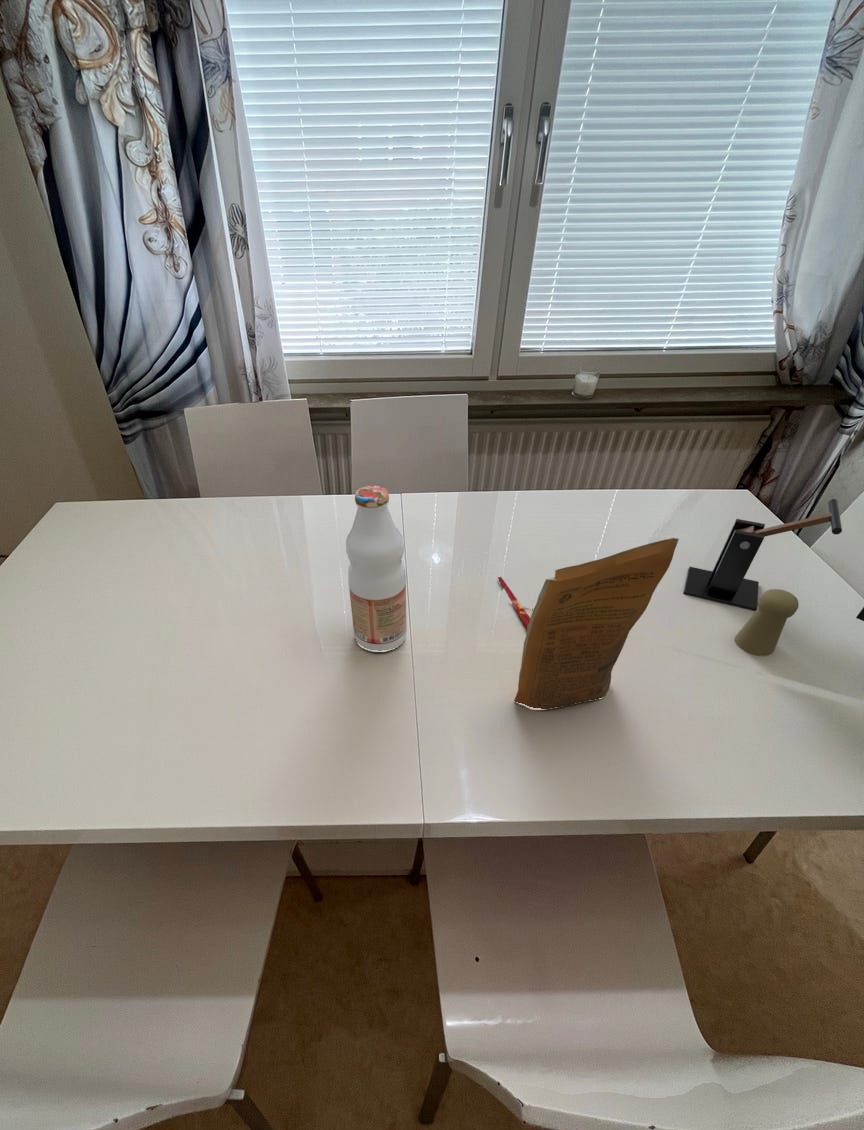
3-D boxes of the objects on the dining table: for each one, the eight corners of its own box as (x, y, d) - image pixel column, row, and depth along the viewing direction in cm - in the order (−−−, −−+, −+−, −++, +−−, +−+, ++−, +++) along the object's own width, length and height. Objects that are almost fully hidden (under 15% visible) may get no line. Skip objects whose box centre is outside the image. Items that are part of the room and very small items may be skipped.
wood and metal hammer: (838, 507, 88) (836, 494, 87) (843, 536, 81) (840, 523, 80) (739, 531, 97) (735, 520, 96) (736, 559, 91) (732, 547, 90)
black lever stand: (755, 586, 101) (790, 523, 92) (754, 614, 96) (791, 549, 86) (687, 571, 106) (713, 509, 96) (681, 596, 100) (709, 532, 91)
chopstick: (502, 578, 106) (502, 574, 106) (556, 659, 89) (557, 655, 88) (492, 580, 106) (493, 576, 106) (545, 662, 89) (546, 658, 88)
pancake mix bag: (633, 702, 82) (698, 547, 63) (516, 726, 79) (548, 573, 60) (610, 672, 87) (664, 519, 68) (499, 693, 84) (524, 542, 65)
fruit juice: (346, 648, 93) (328, 503, 75) (365, 615, 100) (353, 474, 81) (397, 659, 91) (391, 512, 72) (413, 625, 97) (412, 482, 78)
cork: (724, 639, 91) (751, 588, 84) (753, 631, 92) (782, 580, 85) (752, 662, 87) (783, 611, 79) (781, 654, 88) (815, 602, 81)
